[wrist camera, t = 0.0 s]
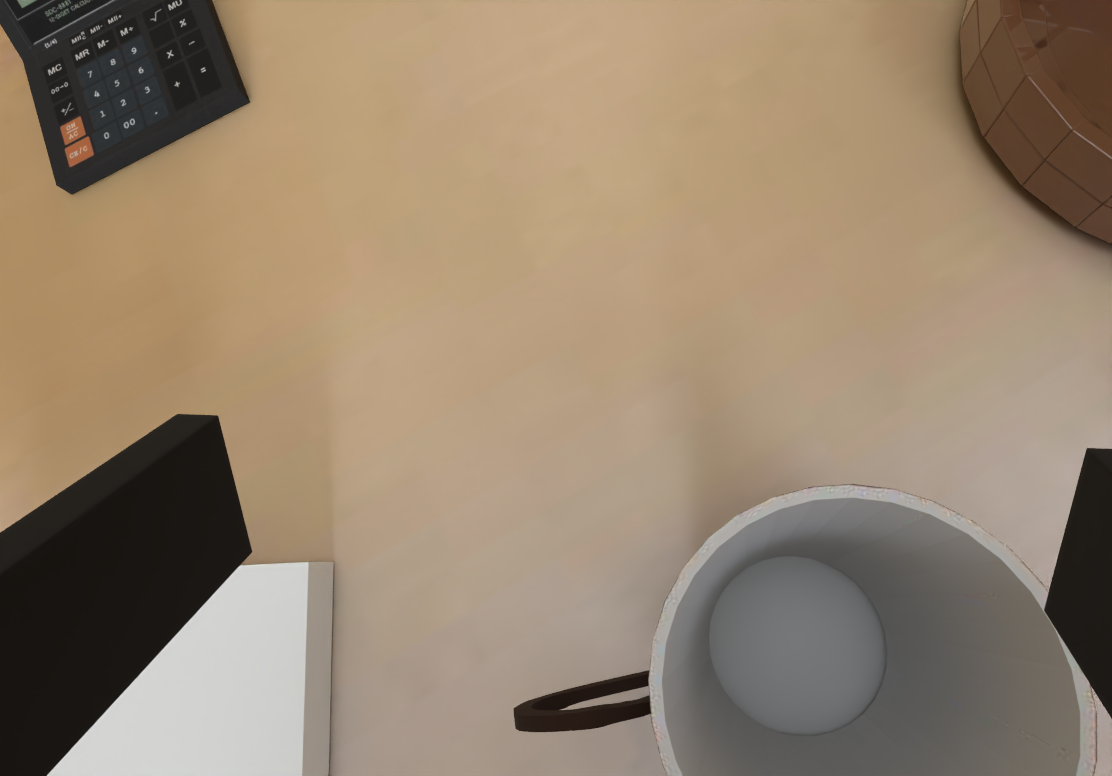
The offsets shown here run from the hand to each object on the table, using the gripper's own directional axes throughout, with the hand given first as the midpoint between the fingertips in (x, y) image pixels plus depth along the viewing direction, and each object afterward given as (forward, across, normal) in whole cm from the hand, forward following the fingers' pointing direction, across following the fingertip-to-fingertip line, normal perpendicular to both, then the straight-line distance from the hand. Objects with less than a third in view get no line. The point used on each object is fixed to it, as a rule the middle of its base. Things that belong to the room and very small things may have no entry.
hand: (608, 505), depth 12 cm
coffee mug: (+11, -3, +11) cm, 16 cm away
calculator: (+25, +26, -8) cm, 37 cm away
